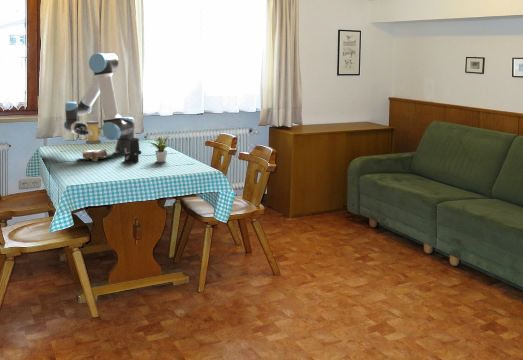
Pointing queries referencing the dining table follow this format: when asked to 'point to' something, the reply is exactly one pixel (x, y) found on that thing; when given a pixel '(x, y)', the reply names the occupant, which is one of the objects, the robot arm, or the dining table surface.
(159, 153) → the house plant
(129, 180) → the dining table surface
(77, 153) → the dining table surface
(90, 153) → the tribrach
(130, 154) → the scope
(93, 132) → the yellow thread spool
